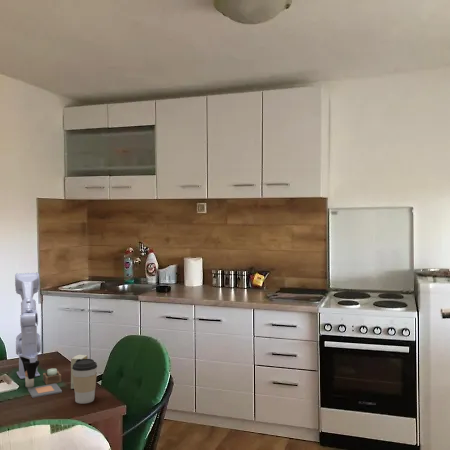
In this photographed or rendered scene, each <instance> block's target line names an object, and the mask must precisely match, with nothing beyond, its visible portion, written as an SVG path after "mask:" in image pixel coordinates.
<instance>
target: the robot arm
mask: <svg viewBox="0 0 450 450" xmlns="http://www.w3.org/2000/svg"><path fill="white" fill-rule="evenodd" d="M14 281H15V282H14V284H15V285H14V286H15V292H16V294H17V295H20V297H21V302H20V311H21V312H20V315H19V318H20V320H19V321H20V331H21V333H19V334H18V335H17V336H16V338H15V340H16V341H15V354H16V355H17V356H18V370H17V371H16V374H17V376H18V377H19V379H20V380H22V379H25V371H27V375H28V379H34V380H35V377H40V375H41V374H40V372H39V371H38V366H39V364H40V360H38V355H39V353H40V352H41V351H42V349H41V344H42V343H41V336H40V333H38V324H39V315H38V311H37V303H36V300H35V299H34V295H35V294H37V293H38V292H39V289H40V288H39V286H40V274H39V272H24V273H18V272H16V273H15V274H14Z"/></svg>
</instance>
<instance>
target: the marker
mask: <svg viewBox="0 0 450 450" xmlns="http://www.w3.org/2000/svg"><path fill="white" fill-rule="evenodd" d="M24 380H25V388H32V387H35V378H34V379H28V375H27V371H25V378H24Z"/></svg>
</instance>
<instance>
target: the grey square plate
mask: <svg viewBox="0 0 450 450" xmlns="http://www.w3.org/2000/svg"><path fill="white" fill-rule="evenodd" d="M27 391H28V393H29V395H30V396H31V397H32V399H35V398H40V397H45V396H50V395H56V394H62V393H63V390H62V388H61V387H60V386H59V385H58V383H54V384H48V385H46V384H45V385H39V386H33V387H27Z"/></svg>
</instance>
